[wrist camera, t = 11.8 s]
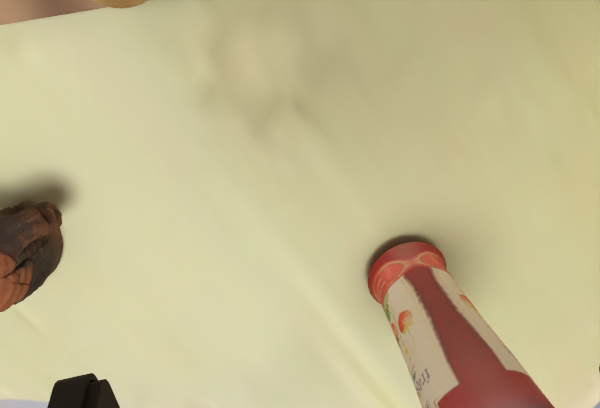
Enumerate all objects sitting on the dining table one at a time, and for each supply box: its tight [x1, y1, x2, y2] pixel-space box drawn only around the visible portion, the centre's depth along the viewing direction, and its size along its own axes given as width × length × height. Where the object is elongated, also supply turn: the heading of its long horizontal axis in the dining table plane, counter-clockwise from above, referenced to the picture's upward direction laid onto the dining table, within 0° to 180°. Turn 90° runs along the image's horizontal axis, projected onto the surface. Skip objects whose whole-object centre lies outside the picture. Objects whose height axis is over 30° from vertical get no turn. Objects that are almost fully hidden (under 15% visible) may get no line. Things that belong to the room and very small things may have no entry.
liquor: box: [368, 242, 554, 408], centre depth 36 cm, size 7×7×28 cm
